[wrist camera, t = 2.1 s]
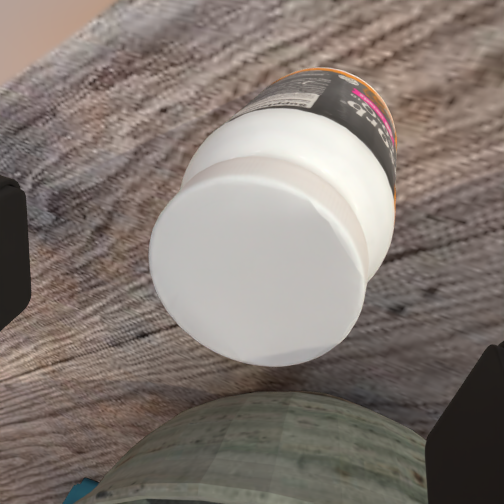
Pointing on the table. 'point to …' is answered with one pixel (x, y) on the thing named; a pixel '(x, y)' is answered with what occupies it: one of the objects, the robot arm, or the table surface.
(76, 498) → the handheld gaming console
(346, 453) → the bowl
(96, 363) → the table surface
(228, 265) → the pill bottle
